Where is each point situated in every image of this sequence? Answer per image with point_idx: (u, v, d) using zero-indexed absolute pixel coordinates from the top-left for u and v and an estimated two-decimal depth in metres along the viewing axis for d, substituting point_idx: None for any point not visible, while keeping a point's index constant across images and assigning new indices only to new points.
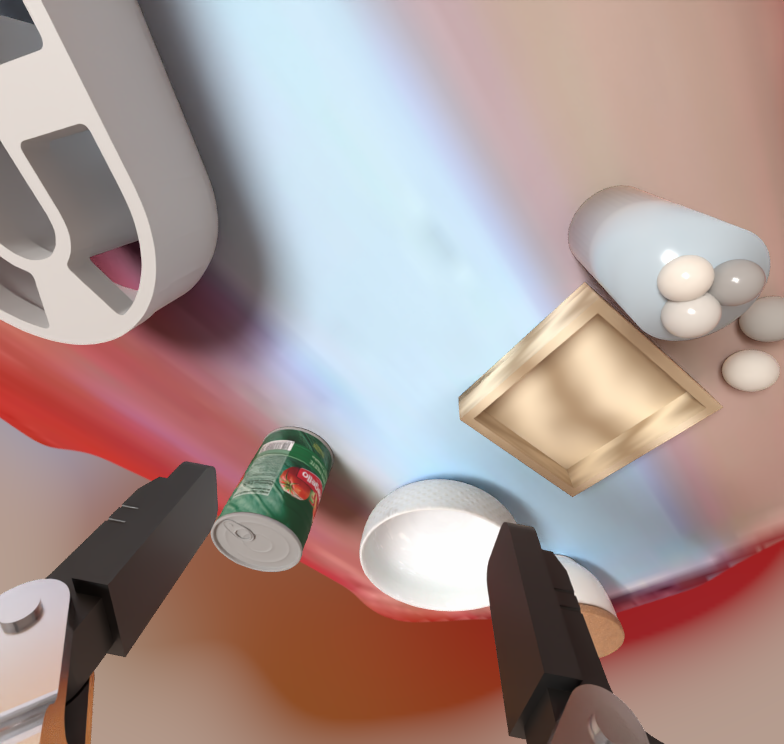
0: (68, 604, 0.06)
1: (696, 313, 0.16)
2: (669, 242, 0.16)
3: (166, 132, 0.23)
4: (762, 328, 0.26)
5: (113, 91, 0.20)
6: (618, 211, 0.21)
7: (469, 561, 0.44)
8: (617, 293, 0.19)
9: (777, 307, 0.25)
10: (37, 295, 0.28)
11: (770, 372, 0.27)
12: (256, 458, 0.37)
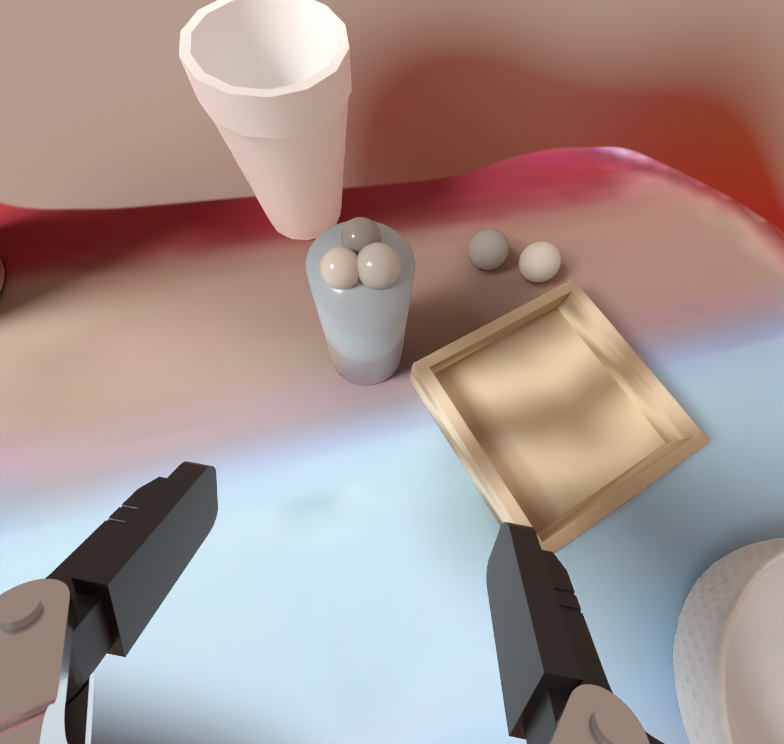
0: (68, 604, 0.06)
1: (366, 257, 0.17)
2: (308, 279, 0.19)
3: None
4: (491, 252, 0.29)
5: None
6: (324, 333, 0.24)
7: None
8: (359, 327, 0.19)
9: (474, 243, 0.30)
10: None
11: (539, 246, 0.30)
12: None
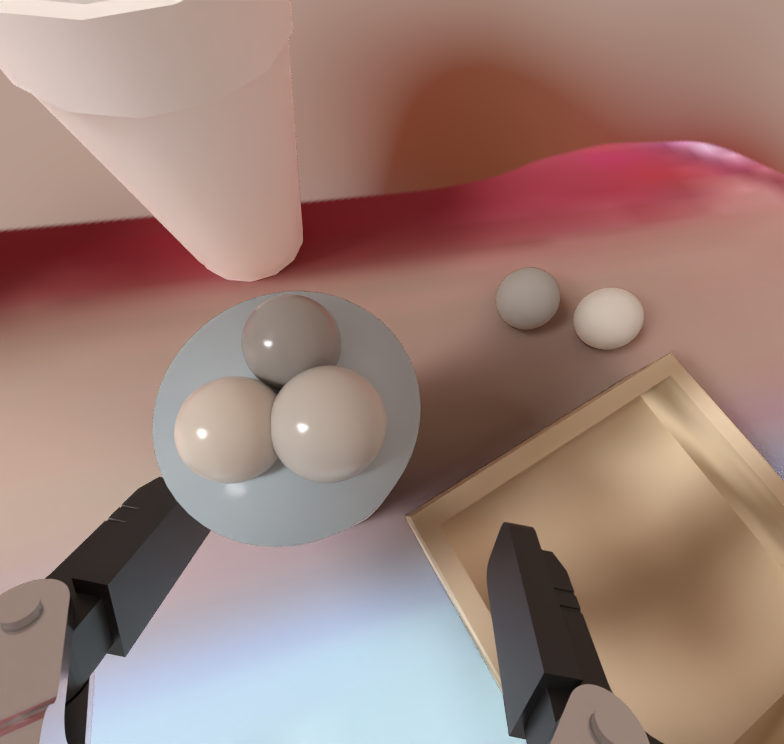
0: (68, 604, 0.06)
1: (291, 419, 0.06)
2: (158, 447, 0.08)
3: None
4: (534, 306, 0.19)
5: None
6: None
7: None
8: None
9: (507, 292, 0.19)
10: None
11: (610, 297, 0.19)
12: None
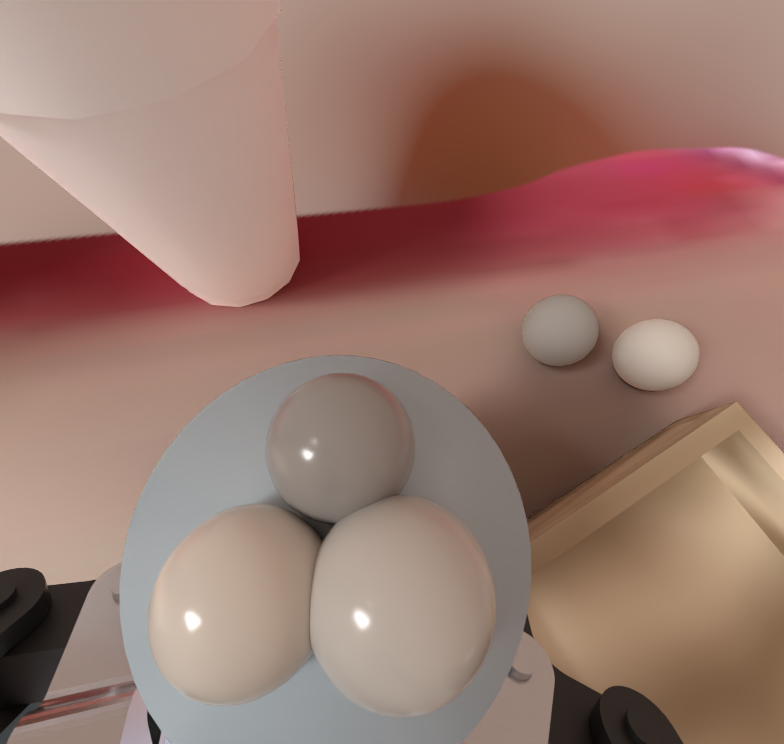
0: None
1: (350, 624, 0.04)
2: (127, 602, 0.05)
3: None
4: (569, 342, 0.16)
5: None
6: None
7: None
8: None
9: (536, 323, 0.16)
10: None
11: (660, 331, 0.16)
12: None
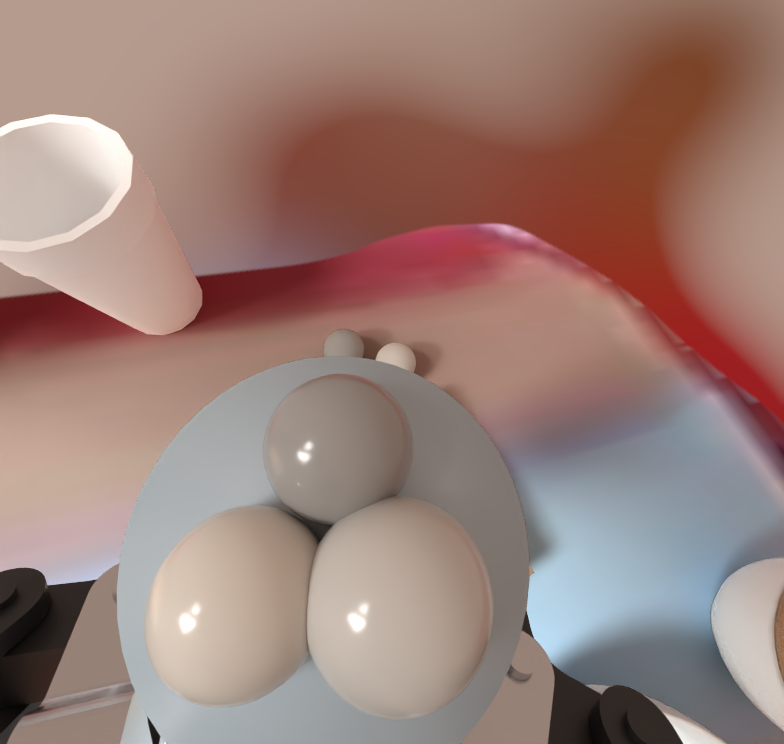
0: None
1: (347, 626, 0.04)
2: (124, 603, 0.05)
3: None
4: None
5: None
6: None
7: None
8: None
9: (325, 346, 0.29)
10: None
11: (389, 350, 0.29)
12: None
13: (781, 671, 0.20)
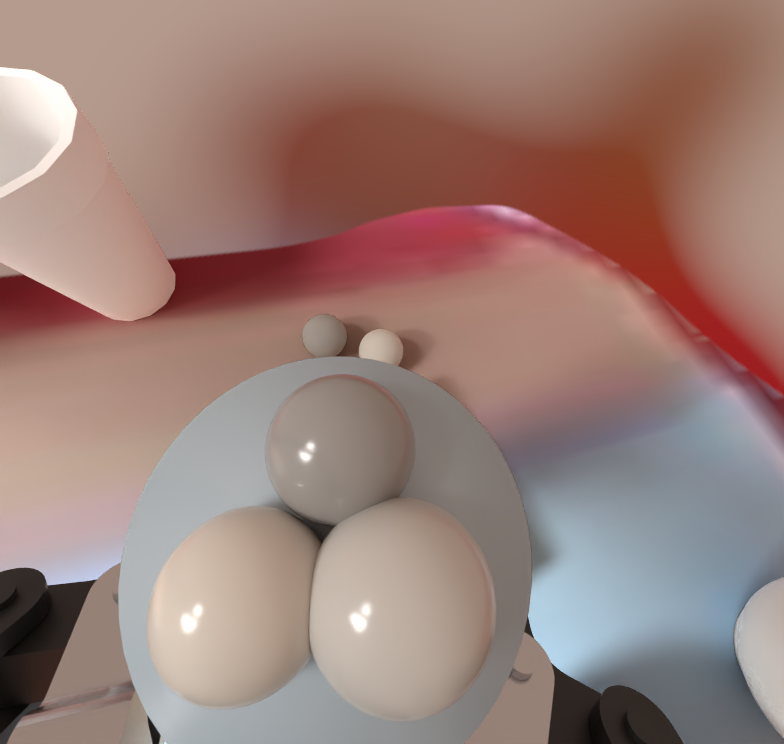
0: None
1: (350, 627, 0.04)
2: (126, 605, 0.05)
3: None
4: (318, 343, 0.26)
5: None
6: None
7: None
8: None
9: (303, 332, 0.27)
10: None
11: (373, 337, 0.26)
12: None
13: None
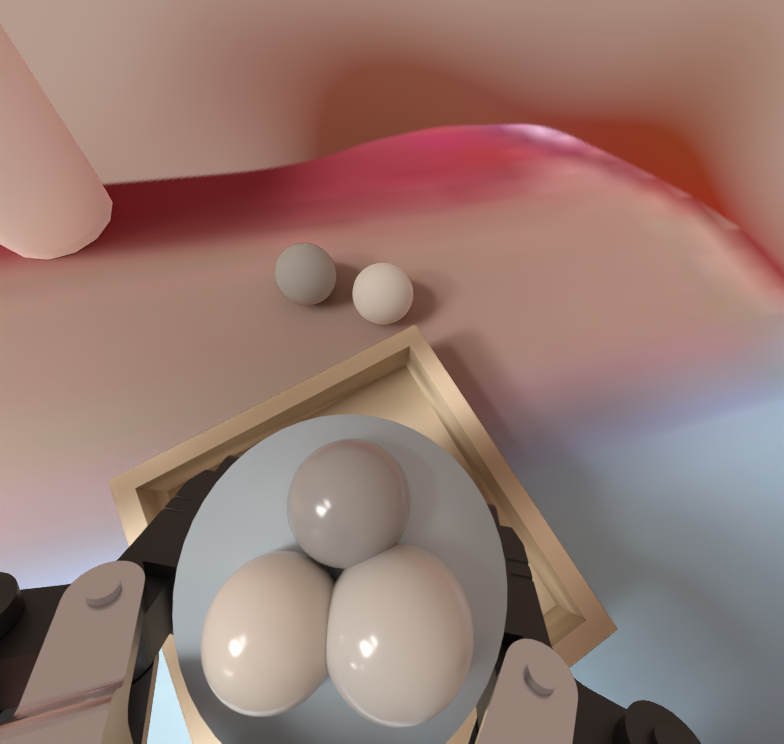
0: (145, 584, 0.07)
1: (358, 659, 0.05)
2: (179, 628, 0.06)
3: None
4: (296, 280, 0.19)
5: None
6: None
7: None
8: None
9: (276, 266, 0.19)
10: None
11: (372, 271, 0.19)
12: None
13: None
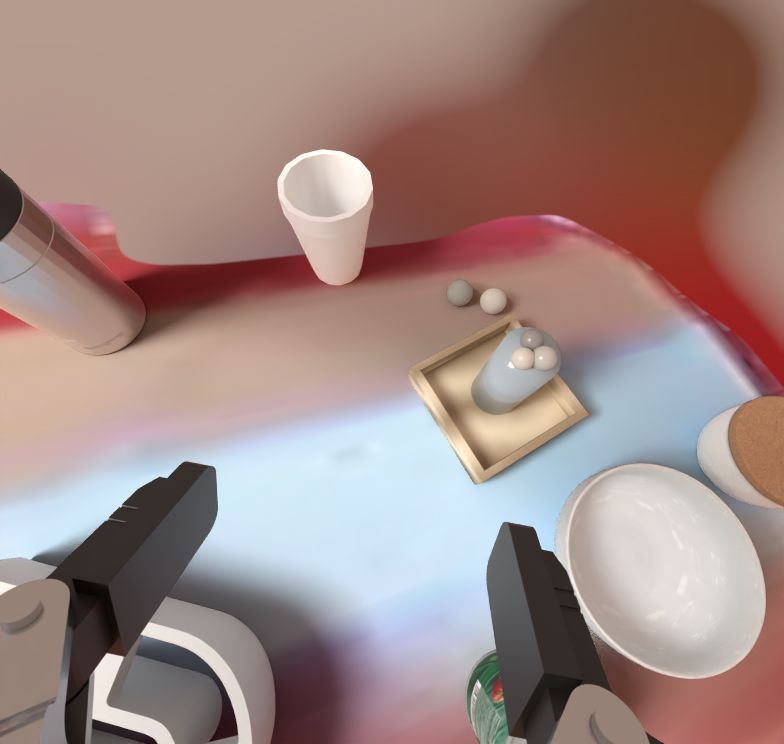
0: (68, 604, 0.06)
1: (542, 355, 0.32)
2: (502, 362, 0.33)
3: (179, 607, 0.33)
4: (460, 295, 0.46)
5: None
6: (483, 383, 0.39)
7: (696, 543, 0.37)
8: (525, 389, 0.34)
9: (450, 289, 0.46)
10: None
11: (491, 291, 0.46)
12: (479, 740, 0.30)
13: (731, 450, 0.36)
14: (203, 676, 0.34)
